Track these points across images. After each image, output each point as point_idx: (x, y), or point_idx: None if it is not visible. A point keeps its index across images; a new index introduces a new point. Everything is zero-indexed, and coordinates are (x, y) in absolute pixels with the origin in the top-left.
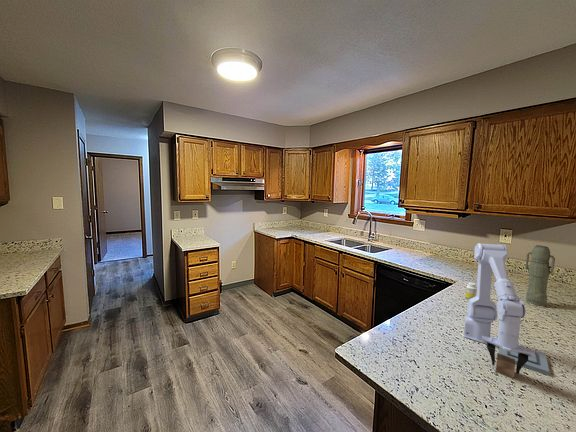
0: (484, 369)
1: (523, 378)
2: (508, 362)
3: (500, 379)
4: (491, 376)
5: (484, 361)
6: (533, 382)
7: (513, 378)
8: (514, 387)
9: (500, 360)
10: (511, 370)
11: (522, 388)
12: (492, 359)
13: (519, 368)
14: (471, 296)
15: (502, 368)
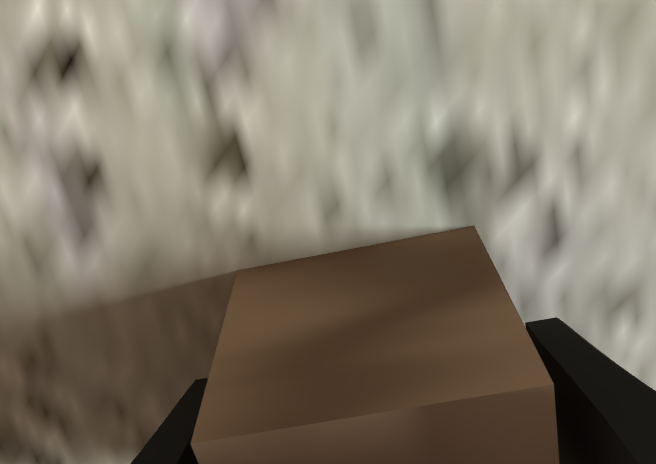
0: (635, 149)
1: (160, 381)
2: (325, 456)
3: (372, 60)
4: (508, 17)
5: (650, 380)
6: (52, 390)
7: (243, 272)
8: (148, 9)
9: (477, 402)
10: (263, 339)
11: (66, 100)
12: (612, 377)
13: (151, 453)
14: None
15: (400, 300)
